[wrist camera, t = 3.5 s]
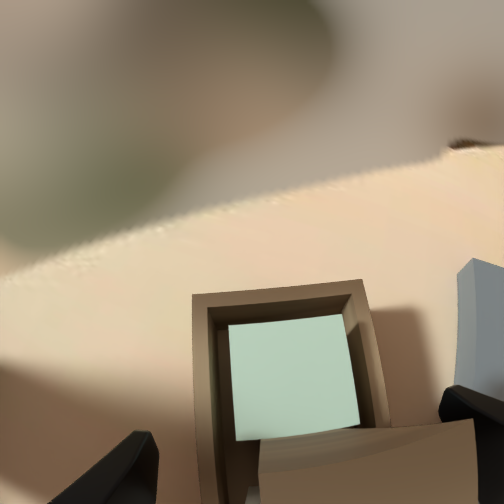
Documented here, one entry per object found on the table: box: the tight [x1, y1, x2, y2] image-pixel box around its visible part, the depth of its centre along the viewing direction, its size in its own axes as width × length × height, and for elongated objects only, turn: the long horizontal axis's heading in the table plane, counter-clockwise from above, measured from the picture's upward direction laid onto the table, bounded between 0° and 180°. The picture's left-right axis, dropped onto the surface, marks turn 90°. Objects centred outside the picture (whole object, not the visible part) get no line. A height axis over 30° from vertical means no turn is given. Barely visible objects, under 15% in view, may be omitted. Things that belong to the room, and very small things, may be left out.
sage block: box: [229, 314, 360, 441], centre depth 11 cm, size 4×4×4 cm
